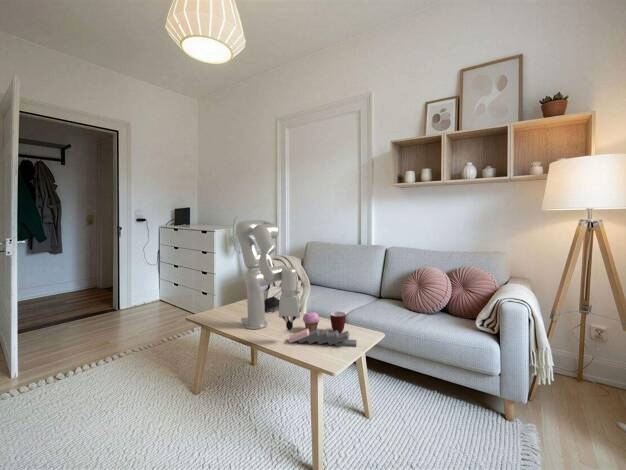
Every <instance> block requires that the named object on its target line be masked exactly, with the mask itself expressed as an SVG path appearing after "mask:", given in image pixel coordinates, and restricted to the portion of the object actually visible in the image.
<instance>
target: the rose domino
mask: <svg viewBox="0 0 626 470" xmlns="http://www.w3.org/2000/svg"><path fill="white" fill-rule="evenodd" d="M308 335H309V330H308V329H306V328H305V329H303V330H301V331H297V332H296V333H293V334H291V335H290V336H289V337H288V339H287V341H288V342H289V344H292V343H294V342H297V341H298V340H299V339H302V338H304V337H307V336H308Z"/></svg>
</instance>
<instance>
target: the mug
mask: <svg viewBox="0 0 626 470" xmlns="http://www.w3.org/2000/svg"><path fill="white" fill-rule="evenodd" d="M346 316H347V315H346V313H345V312H343V311H331V312H330V317H329V319H330V324H331V328H332V332H334V331H336V330H337V331H338V333H339V334H340V333H343V331H344V328H345V324H346V322H347V321H346Z"/></svg>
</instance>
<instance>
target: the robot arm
mask: <svg viewBox="0 0 626 470" xmlns="http://www.w3.org/2000/svg"><path fill="white" fill-rule="evenodd" d="M279 234H280V233H279V229H278V226H277V225H276V224H274V223H273V222H270V221H266V220H261V219H259V220H258V219H257V220H252V219H251V220H250V219H249V220H241V221H239V222H238V223H237V224H236V227H235V236H236V239H237V241H238V243H239V246H240V249H241V254H242V259H243V263H244V266H245V268H247V269H250V270H251V269H252V270H251V271H248V272H247V273H246V274H245V277H244V282H245V286H246V296H247V297H246V298H247V299H246V300H247V316H246V317H241V318H240V321H241V323H244V327H245V328H247V330H248V329H249V330H259V329H264V328H266V327H267V326H268V321H267V320H266V316H265V315H266V314H265V313H266V312H265V303H264V300H265V292H264V291H263V289H262V288H261V287H266V286H270V285H272V284H274V283H275V282H280V283H281V288H280V289H281V293H280V295H279V299H278V300H279V310H278V318H280V319H283V321H284V322H285V329H286V330H287V331H291V330H292V329H293V328H294V327H293V326H294V321H295V320H296V319H300V318H301V314H300V312H301V304H300V298H299V295H300V290H298V289H297V286H298V285H297V283H298V282H297V270H296V268H295V267H289V266H287V265H285V264H284V265H275V266H274V265H273V260H272V256H271V255H272V254H273V253H275V251H276V250H277V245H276V243H275V240H274V239H277V238H278V236H279ZM250 236H253V237H254V239H255V241H254V239H253V238H251V237H250ZM257 245H258V249H259V250H258V249H257ZM256 268H257V269H256ZM258 268H259V269H258ZM253 269H254V270H253ZM298 294H299V295H298ZM289 317H290V318H289Z"/></svg>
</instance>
